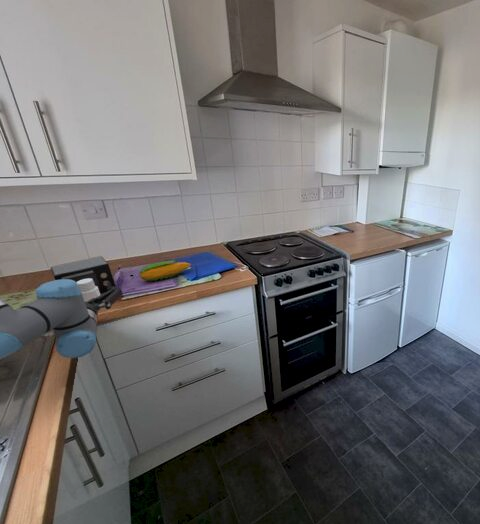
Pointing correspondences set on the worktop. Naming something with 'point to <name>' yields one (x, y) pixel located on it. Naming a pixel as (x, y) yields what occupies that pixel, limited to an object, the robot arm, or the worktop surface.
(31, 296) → the worktop surface
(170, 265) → the corn
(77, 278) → the toaster oven
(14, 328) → the robot arm
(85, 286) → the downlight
